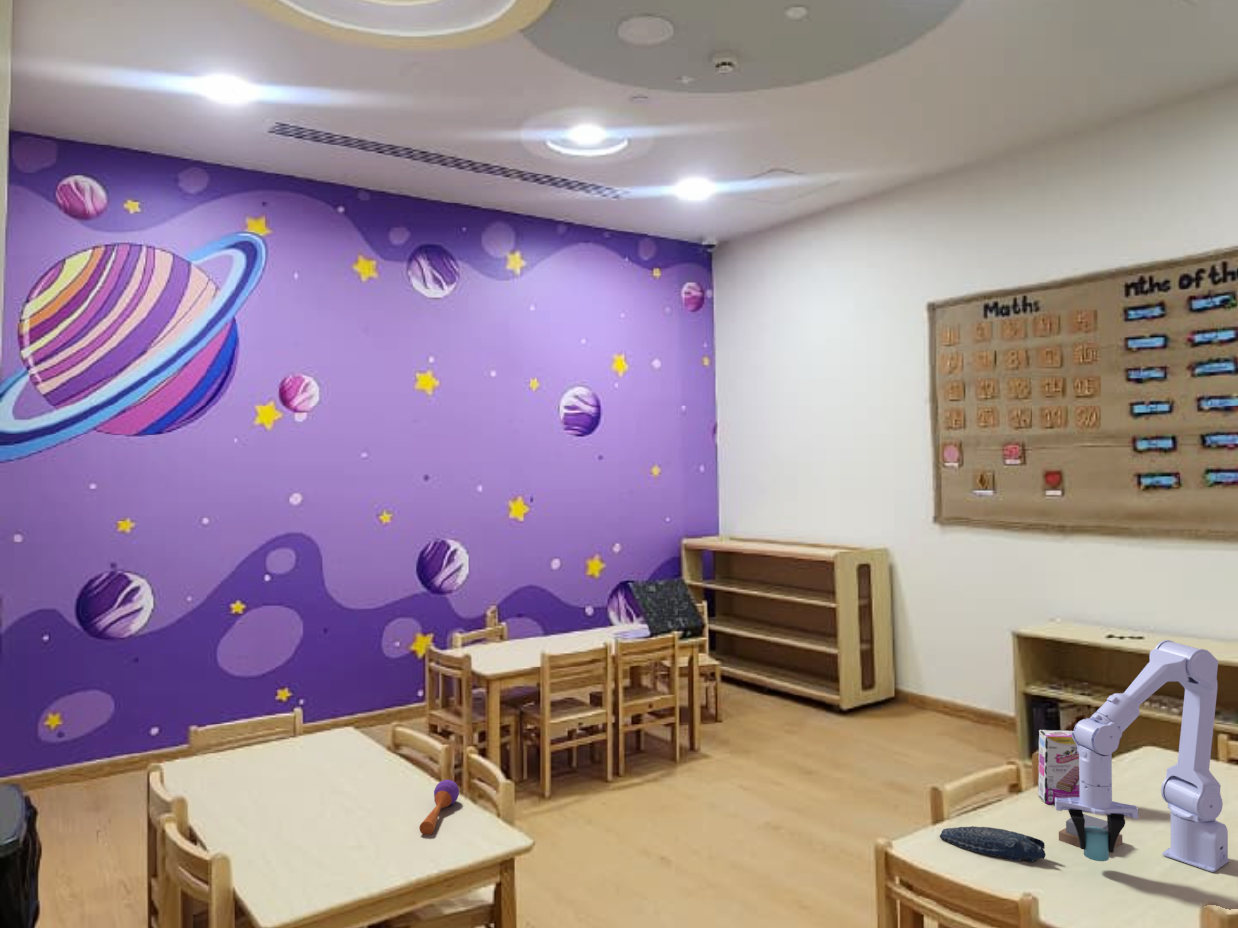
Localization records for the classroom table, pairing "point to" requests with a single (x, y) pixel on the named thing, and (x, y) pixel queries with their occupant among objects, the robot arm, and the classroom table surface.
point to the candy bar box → (1057, 766)
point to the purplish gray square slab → (1086, 824)
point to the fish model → (996, 842)
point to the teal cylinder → (1096, 843)
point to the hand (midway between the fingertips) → (1096, 848)
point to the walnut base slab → (1075, 840)
